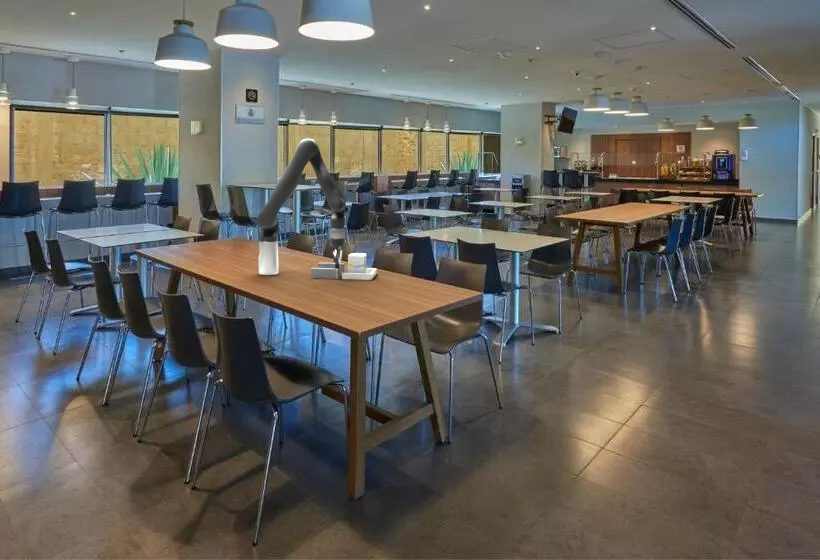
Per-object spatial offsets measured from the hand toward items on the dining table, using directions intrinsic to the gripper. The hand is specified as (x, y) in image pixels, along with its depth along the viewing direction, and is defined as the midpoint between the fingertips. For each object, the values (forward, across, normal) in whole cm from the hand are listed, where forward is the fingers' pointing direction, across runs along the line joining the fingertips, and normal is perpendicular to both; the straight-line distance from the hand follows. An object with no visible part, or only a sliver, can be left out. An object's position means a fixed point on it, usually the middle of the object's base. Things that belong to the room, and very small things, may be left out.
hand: (337, 269), depth 314 cm
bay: (+3, 0, -5) cm, 6 cm away
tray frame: (+3, 0, +11) cm, 12 cm away
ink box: (+3, 0, +10) cm, 11 cm away
